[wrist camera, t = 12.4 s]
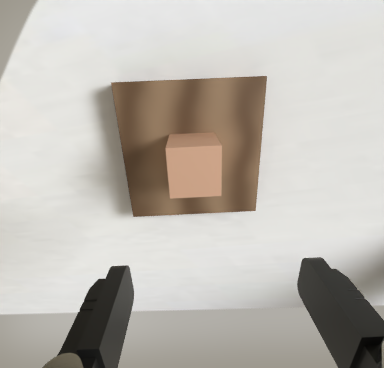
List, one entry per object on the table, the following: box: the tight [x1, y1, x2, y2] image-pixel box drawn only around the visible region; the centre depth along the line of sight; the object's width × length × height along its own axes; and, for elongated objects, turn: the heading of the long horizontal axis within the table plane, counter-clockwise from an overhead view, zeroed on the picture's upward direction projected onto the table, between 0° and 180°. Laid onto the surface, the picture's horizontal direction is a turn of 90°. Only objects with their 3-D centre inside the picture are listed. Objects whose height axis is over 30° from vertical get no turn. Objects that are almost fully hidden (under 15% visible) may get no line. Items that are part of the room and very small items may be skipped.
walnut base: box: [111, 76, 267, 217], centre depth 28 cm, size 16×16×2 cm
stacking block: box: [165, 132, 222, 199], centre depth 24 cm, size 5×5×6 cm
